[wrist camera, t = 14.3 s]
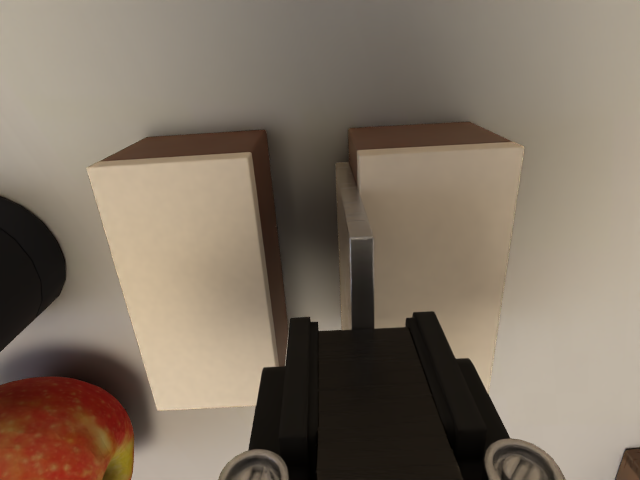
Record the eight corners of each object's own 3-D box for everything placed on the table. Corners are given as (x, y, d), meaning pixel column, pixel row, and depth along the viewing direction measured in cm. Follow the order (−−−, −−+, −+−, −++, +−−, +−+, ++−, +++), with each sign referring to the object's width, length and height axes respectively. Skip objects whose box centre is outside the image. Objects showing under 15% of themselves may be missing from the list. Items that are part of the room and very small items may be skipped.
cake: (145, 136, 17) (84, 167, 13) (266, 129, 17) (247, 157, 13) (190, 335, 22) (156, 411, 17) (288, 329, 21) (280, 405, 17)
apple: (152, 459, 25) (86, 625, 18) (7, 444, 25) (-124, 610, 17) (151, 352, 22) (68, 503, 15) (-17, 333, 21) (-190, 480, 14)
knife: (312, 163, 17) (304, 396, 5) (372, 160, 17) (500, 388, 5) (322, 328, 20) (331, 713, 8) (372, 326, 20) (453, 709, 8)
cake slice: (347, 127, 17) (359, 155, 13) (470, 121, 17) (525, 146, 13) (352, 328, 21) (362, 404, 17) (451, 324, 21) (488, 398, 17)
